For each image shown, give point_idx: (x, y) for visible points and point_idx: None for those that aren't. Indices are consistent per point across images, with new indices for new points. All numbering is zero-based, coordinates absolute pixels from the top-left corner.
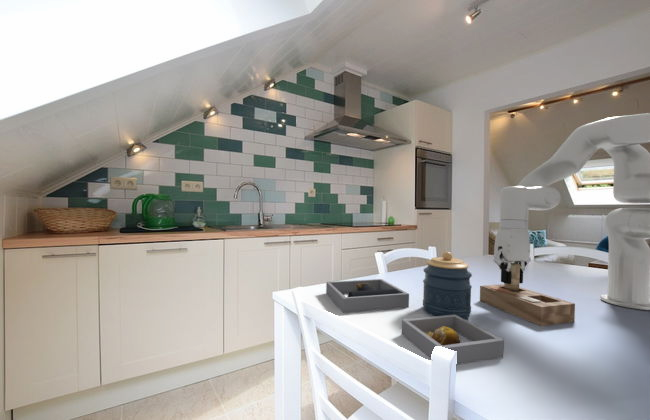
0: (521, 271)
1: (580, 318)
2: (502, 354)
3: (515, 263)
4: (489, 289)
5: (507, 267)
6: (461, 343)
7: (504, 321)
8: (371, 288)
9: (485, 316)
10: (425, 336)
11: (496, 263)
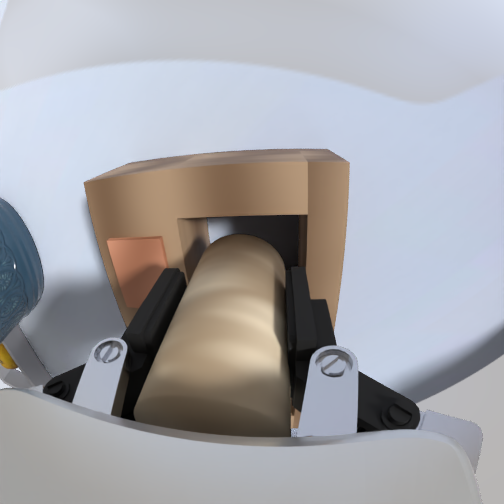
0: (292, 399)
1: (361, 368)
2: None
3: (272, 436)
4: (101, 250)
5: (123, 416)
6: (15, 387)
7: (109, 337)
8: None
9: (76, 302)
10: None
11: (35, 388)
